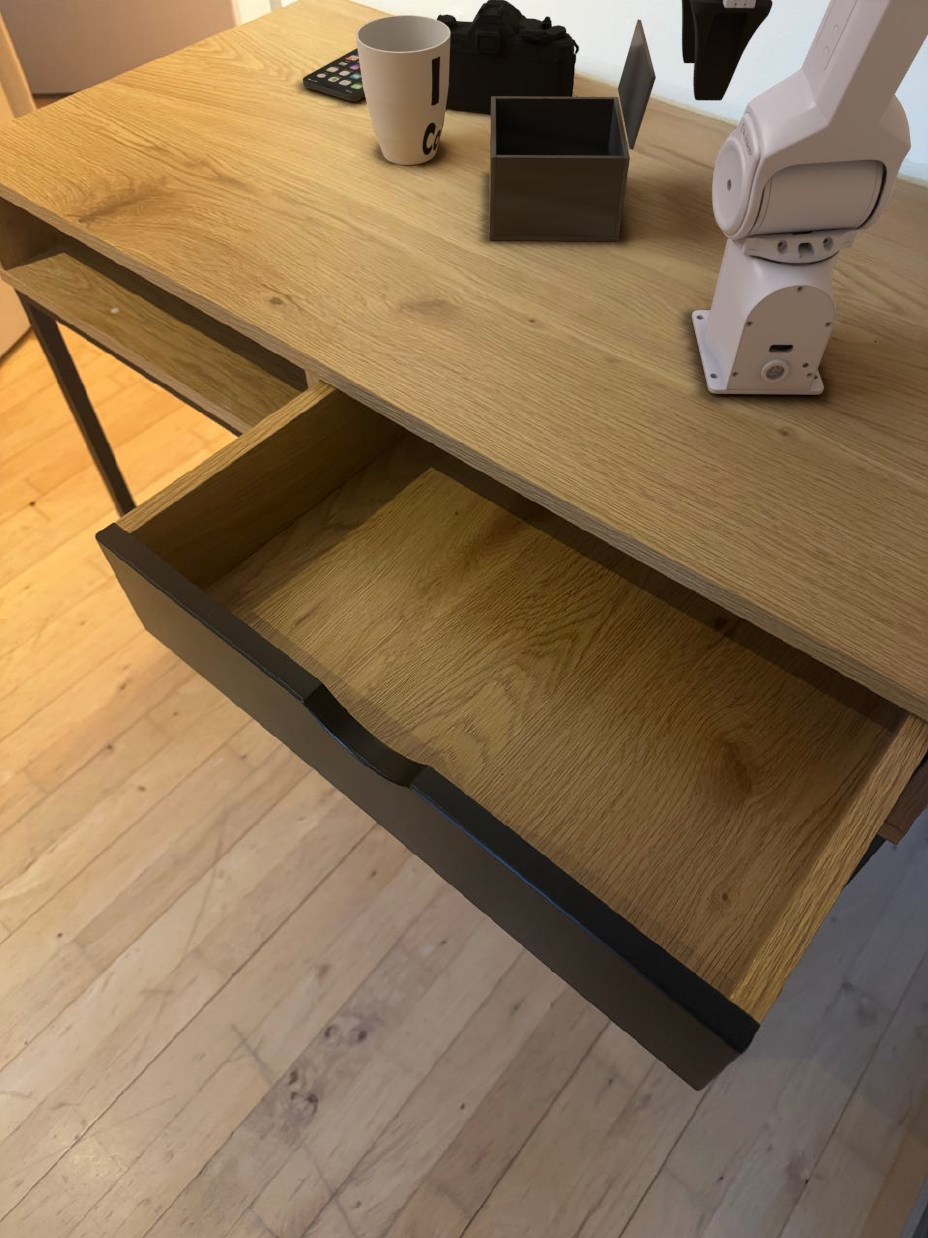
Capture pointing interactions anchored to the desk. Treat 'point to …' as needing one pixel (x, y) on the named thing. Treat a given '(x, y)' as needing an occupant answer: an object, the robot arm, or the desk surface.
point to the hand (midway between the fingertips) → (701, 79)
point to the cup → (405, 83)
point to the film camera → (507, 57)
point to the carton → (556, 168)
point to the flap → (636, 84)
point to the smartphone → (339, 78)
